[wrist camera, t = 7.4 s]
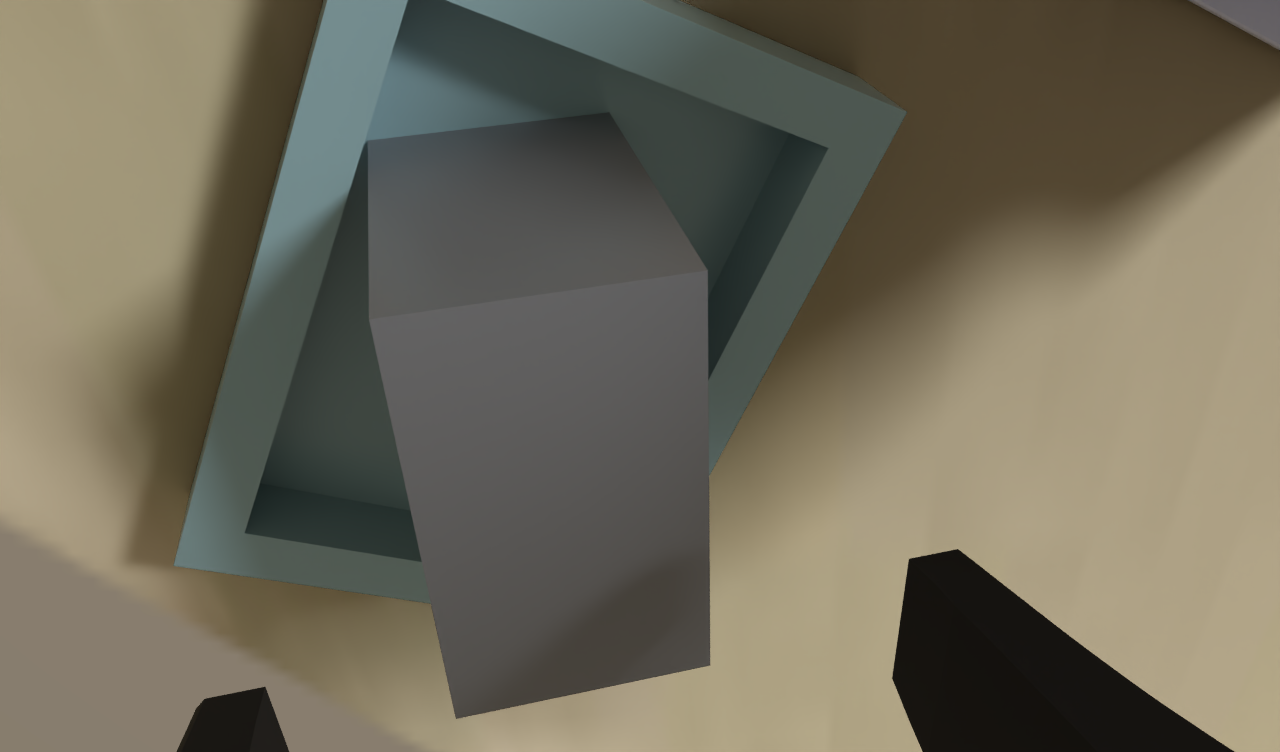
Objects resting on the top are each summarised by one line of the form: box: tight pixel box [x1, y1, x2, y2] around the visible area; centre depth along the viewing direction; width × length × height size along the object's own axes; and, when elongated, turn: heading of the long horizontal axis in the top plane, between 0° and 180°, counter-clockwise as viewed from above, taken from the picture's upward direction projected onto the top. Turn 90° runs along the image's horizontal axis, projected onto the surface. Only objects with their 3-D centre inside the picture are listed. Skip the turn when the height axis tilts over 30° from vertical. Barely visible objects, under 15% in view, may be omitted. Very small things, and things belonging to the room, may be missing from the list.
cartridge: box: [368, 112, 710, 719], centre depth 16 cm, size 4×7×6 cm, turn 3°
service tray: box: [174, 0, 907, 604], centre depth 18 cm, size 9×12×2 cm
